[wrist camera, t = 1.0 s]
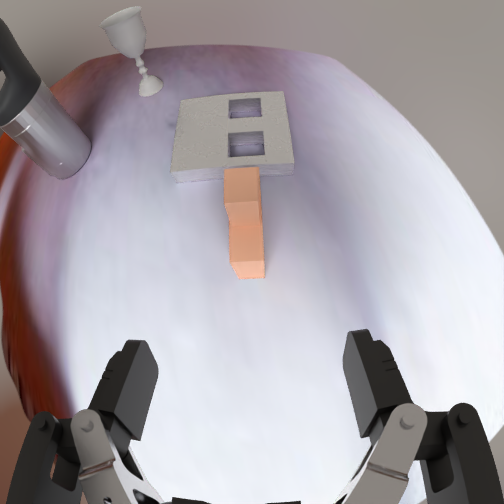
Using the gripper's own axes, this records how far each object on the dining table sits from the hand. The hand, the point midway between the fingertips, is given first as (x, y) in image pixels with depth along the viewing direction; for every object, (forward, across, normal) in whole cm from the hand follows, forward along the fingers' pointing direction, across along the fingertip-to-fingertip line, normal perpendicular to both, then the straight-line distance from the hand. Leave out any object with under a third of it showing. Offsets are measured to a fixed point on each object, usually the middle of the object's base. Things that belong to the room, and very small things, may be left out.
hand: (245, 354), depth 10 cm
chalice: (+46, +18, -18) cm, 52 cm away
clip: (+24, +1, +6) cm, 24 cm away
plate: (+34, +2, -6) cm, 35 cm away
